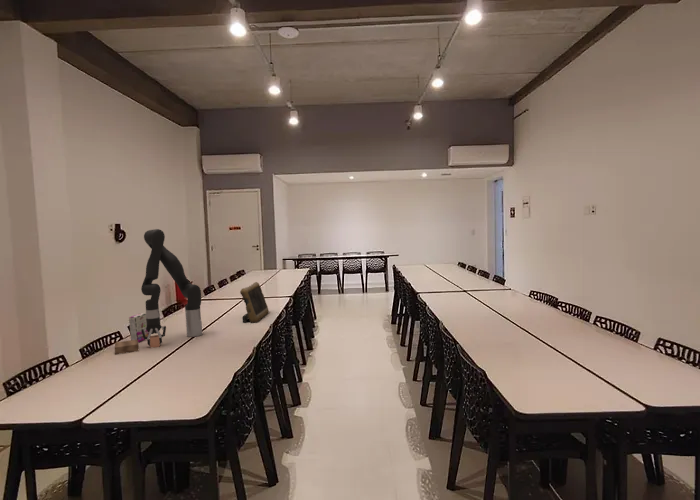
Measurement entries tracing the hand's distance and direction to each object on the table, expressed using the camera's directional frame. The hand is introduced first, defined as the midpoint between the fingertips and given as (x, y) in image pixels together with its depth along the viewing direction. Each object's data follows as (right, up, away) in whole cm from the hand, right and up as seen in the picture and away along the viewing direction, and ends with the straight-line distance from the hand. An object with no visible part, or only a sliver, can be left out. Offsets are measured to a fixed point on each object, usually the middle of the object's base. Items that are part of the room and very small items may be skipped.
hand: (154, 344), depth 268 cm
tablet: (+47, +6, +66) cm, 81 cm away
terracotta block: (0, -1, 0) cm, 1 cm away
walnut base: (-13, -2, -6) cm, 15 cm away
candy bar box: (-15, -1, +14) cm, 21 cm away
